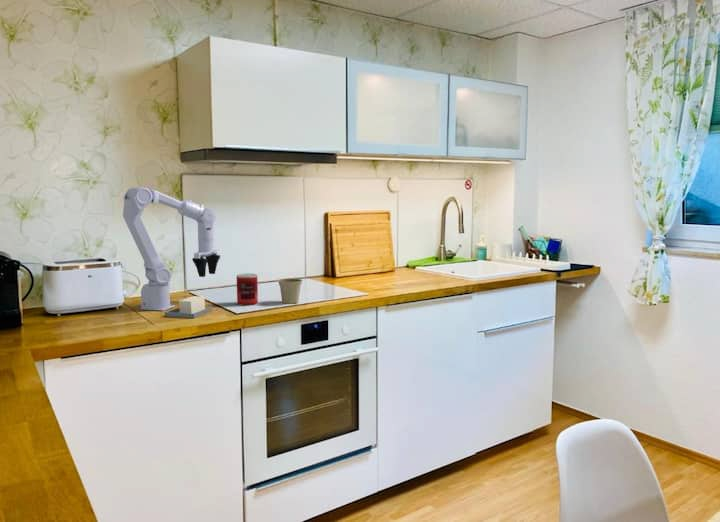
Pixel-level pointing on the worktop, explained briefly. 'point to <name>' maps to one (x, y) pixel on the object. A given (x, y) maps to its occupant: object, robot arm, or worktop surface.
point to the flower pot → (290, 290)
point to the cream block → (192, 304)
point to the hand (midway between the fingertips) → (207, 275)
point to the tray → (186, 315)
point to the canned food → (247, 289)
